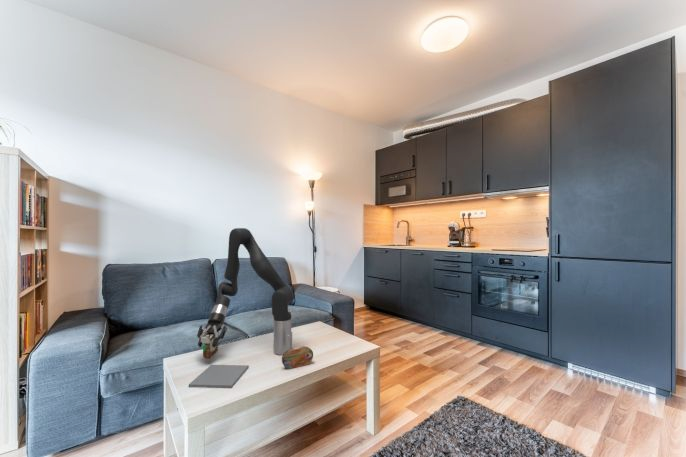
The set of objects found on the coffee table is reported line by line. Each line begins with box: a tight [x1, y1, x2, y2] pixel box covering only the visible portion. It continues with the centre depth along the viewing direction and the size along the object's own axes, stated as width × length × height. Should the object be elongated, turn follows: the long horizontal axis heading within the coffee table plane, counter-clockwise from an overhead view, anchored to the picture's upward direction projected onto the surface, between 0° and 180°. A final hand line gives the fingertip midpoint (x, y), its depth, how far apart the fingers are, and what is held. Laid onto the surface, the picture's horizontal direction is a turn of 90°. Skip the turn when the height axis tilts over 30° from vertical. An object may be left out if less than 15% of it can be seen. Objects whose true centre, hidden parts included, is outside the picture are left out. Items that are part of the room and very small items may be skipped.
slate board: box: [188, 364, 249, 389], centre depth 126 cm, size 18×18×1 cm
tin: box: [281, 345, 314, 370], centre depth 137 cm, size 15×3×8 cm, turn 117°
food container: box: [201, 332, 219, 360], centre depth 142 cm, size 12×6×10 cm, turn 4°
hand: (206, 346), depth 141 cm, fingers closed on food container, 6 cm apart
